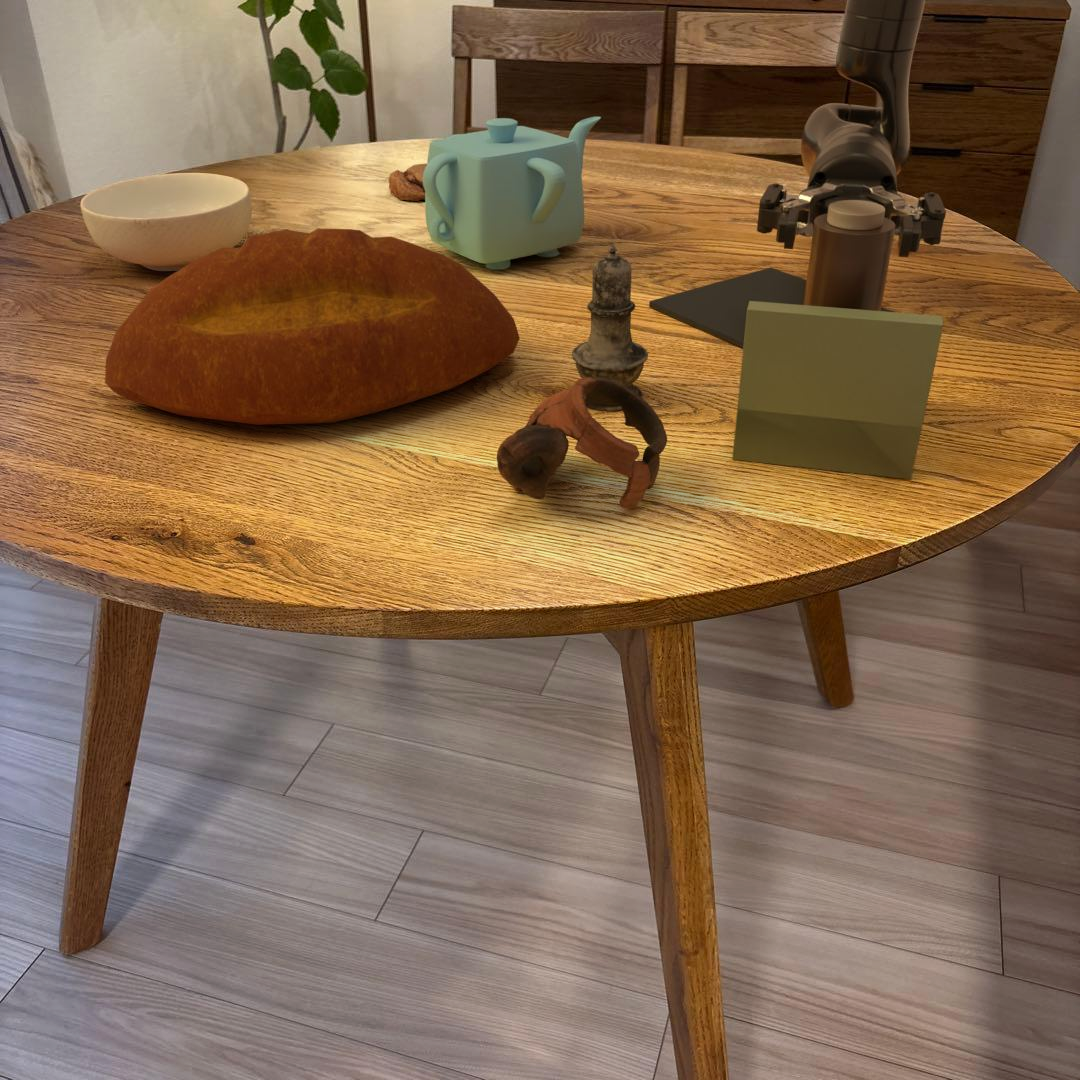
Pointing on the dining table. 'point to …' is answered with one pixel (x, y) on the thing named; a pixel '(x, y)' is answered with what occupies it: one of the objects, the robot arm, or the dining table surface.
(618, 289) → the salt shaker
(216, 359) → the bread
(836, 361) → the olive piece
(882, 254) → the pepper mill
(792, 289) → the slate mat
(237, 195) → the cereal bowl
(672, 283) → the dining table surface
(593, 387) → the brown leather headphones
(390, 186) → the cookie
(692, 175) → the dining table surface
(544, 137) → the teapot
